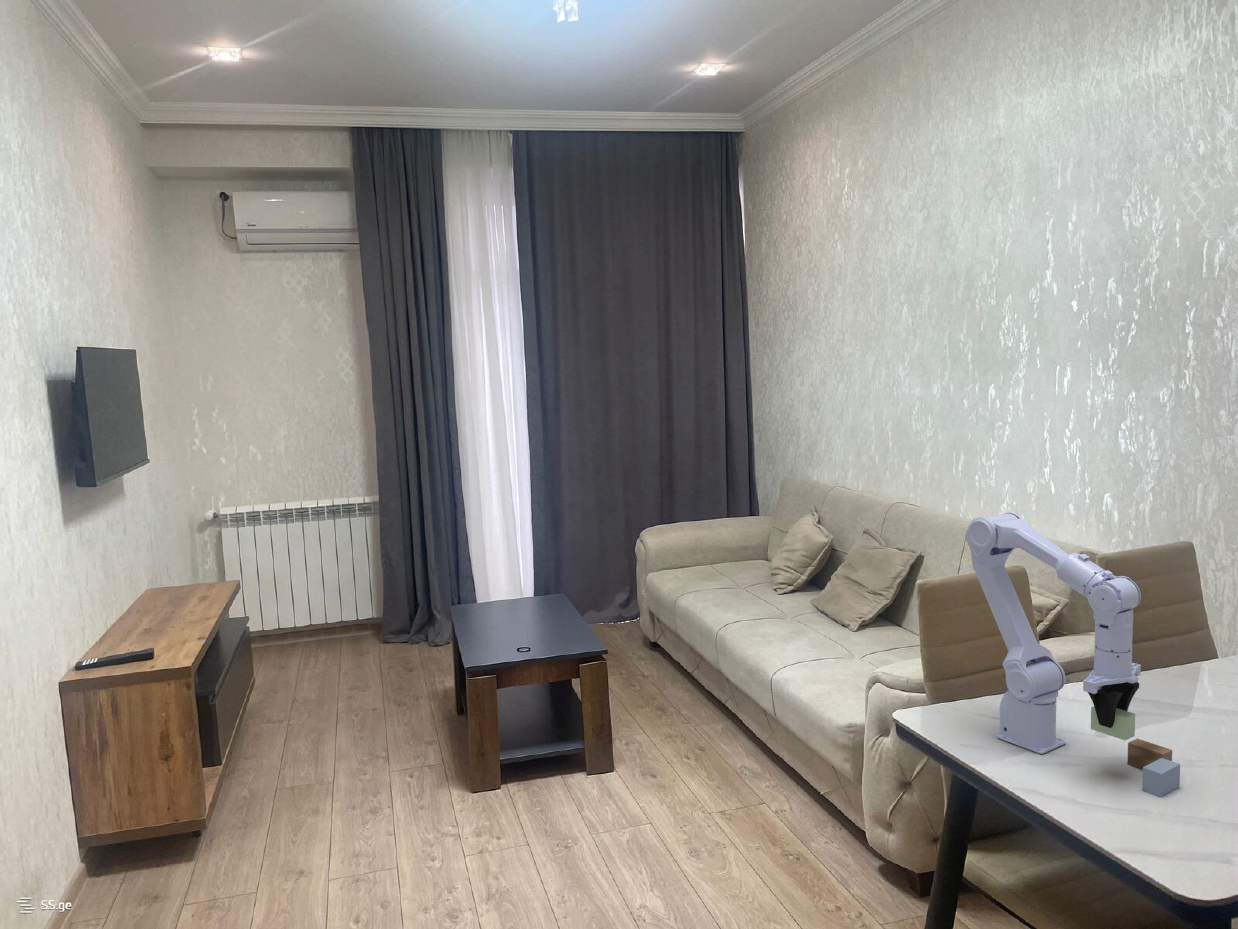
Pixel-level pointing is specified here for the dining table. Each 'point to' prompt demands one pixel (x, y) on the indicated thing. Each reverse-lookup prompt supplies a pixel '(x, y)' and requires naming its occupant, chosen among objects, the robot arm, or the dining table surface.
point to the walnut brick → (1146, 753)
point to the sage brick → (1116, 724)
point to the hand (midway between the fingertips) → (1111, 723)
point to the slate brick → (1161, 777)
